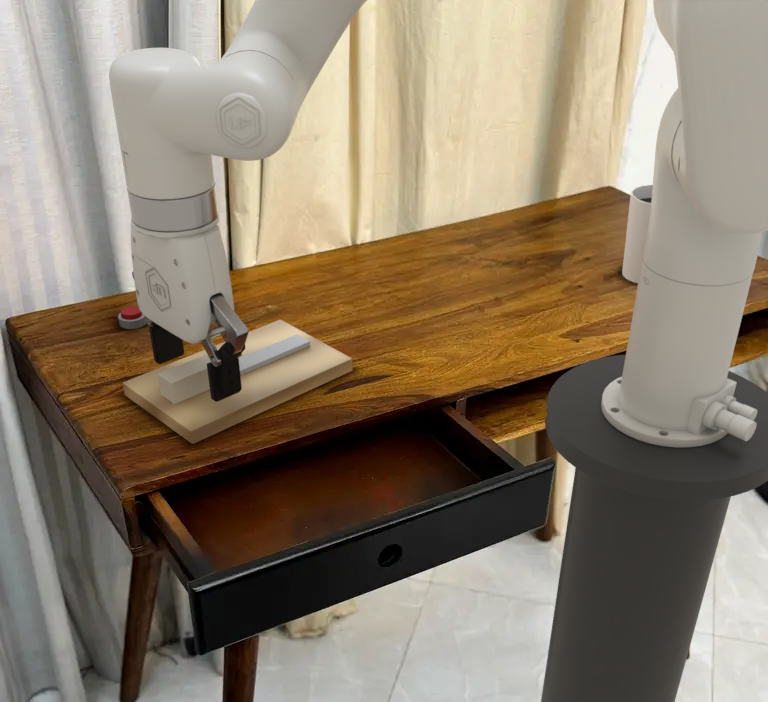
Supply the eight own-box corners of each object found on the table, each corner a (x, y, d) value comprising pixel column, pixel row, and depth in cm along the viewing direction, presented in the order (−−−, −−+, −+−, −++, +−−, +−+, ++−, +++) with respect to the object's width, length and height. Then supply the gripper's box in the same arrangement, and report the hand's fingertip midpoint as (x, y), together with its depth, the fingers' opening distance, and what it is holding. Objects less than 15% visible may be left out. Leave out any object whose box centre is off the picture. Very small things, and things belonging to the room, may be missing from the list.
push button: (141, 329, 110) (139, 317, 109) (115, 327, 110) (113, 315, 109) (150, 317, 112) (148, 305, 111) (125, 315, 112) (123, 303, 112)
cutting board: (352, 371, 103) (352, 358, 102) (192, 444, 92) (190, 431, 91) (281, 331, 110) (280, 319, 109) (124, 395, 99) (122, 382, 98)
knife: (174, 404, 95) (171, 383, 93) (160, 395, 96) (157, 373, 94) (311, 346, 104) (310, 325, 102) (296, 338, 105) (295, 318, 104)
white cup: (669, 290, 118) (685, 208, 112) (613, 281, 120) (626, 200, 113) (676, 267, 123) (692, 188, 116) (623, 260, 124) (635, 181, 118)
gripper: (85, 190, 89) (117, 358, 99) (194, 246, 79) (217, 426, 89) (156, 170, 93) (180, 333, 103) (269, 222, 83) (282, 397, 93)
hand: (197, 376), depth 96 cm, fingers open, 9 cm apart
